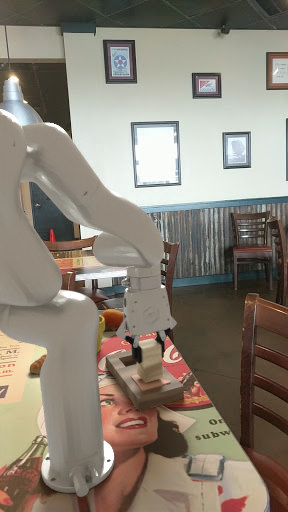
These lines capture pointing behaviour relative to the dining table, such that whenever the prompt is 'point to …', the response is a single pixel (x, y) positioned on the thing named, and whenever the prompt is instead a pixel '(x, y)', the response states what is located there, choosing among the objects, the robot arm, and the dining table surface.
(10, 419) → the dining table surface
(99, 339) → the plant pot
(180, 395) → the pocket board
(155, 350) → the maple block
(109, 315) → the fruit
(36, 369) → the pastry
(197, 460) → the dining table surface
